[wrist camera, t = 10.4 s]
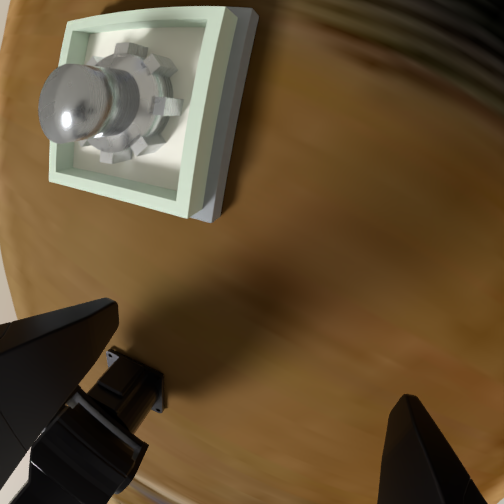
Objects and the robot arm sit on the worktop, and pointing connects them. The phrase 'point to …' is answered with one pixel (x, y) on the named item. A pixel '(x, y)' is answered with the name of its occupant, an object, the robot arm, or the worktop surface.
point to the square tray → (178, 127)
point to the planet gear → (111, 103)
